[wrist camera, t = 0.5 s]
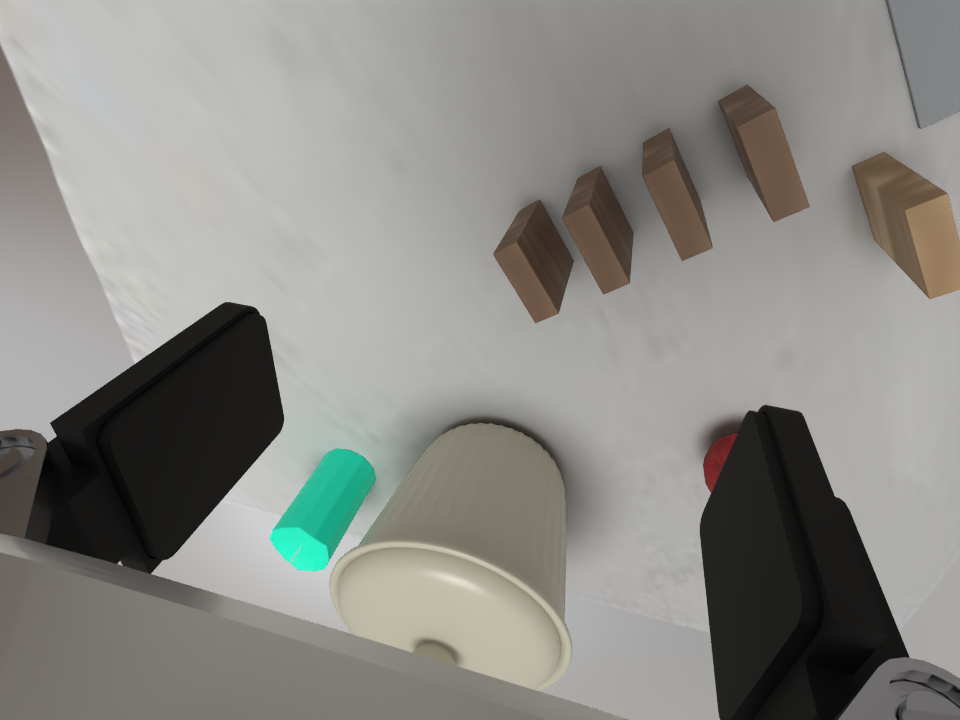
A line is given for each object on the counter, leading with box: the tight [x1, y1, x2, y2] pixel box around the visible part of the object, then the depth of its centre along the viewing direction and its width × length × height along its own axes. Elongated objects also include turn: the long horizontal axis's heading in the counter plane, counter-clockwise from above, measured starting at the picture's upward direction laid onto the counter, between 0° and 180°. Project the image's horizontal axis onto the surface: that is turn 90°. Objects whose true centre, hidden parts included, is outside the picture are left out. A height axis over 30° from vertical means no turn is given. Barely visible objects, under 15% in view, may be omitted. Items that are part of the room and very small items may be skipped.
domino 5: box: [852, 152, 960, 299], centre depth 28 cm, size 2×5×8 cm, turn 33°
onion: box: [703, 433, 738, 493], centre depth 40 cm, size 6×6×8 cm
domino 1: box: [493, 200, 574, 323], centre depth 35 cm, size 2×5×8 cm, turn 33°
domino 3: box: [642, 129, 713, 261], centre depth 30 cm, size 2×5×8 cm, turn 33°
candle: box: [270, 449, 376, 571], centre depth 53 cm, size 6×6×12 cm
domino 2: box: [562, 167, 633, 294], centre depth 32 cm, size 2×5×8 cm, turn 33°
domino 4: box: [718, 85, 810, 222], centre depth 28 cm, size 2×5×8 cm, turn 33°
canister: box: [329, 423, 572, 691], centre depth 43 cm, size 18×18×21 cm
